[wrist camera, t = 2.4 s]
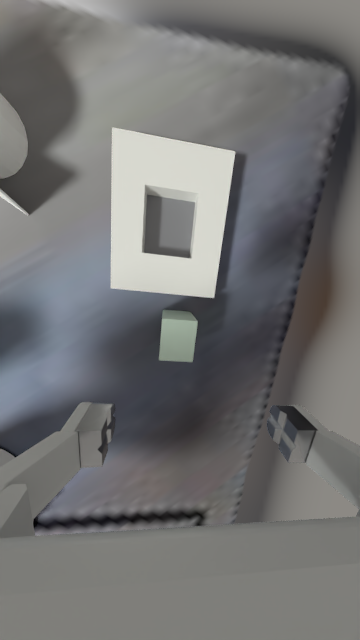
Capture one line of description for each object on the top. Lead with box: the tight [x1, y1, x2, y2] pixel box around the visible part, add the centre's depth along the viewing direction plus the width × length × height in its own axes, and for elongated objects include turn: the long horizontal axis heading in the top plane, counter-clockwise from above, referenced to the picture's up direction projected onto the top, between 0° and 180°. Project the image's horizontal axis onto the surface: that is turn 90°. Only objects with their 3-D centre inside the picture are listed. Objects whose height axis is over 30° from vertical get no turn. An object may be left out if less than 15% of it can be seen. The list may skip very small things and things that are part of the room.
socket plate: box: [111, 127, 235, 298], centre depth 20 cm, size 16×13×2 cm
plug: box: [159, 309, 198, 362], centre depth 22 cm, size 5×4×6 cm
